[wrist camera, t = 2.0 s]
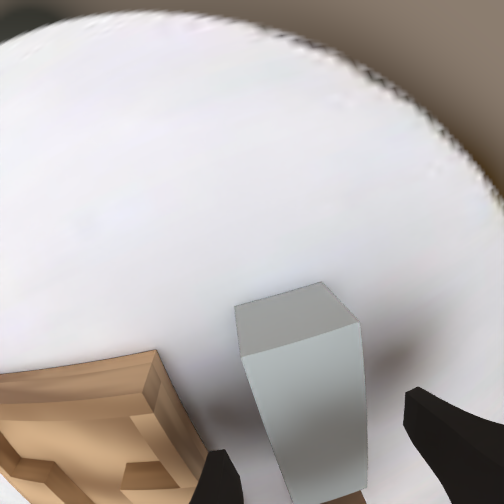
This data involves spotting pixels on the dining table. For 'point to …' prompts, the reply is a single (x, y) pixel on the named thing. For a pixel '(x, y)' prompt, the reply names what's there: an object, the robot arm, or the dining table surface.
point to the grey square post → (308, 389)
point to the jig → (98, 434)
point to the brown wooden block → (348, 499)
